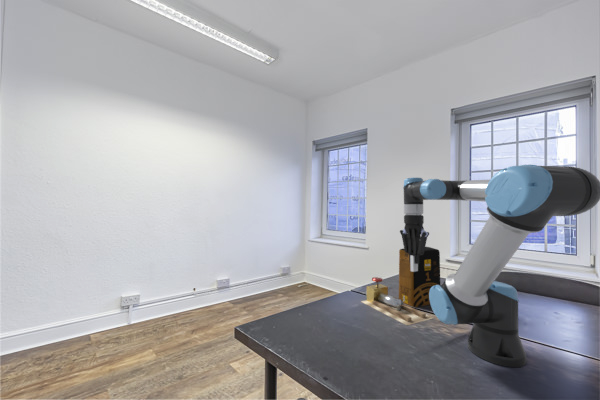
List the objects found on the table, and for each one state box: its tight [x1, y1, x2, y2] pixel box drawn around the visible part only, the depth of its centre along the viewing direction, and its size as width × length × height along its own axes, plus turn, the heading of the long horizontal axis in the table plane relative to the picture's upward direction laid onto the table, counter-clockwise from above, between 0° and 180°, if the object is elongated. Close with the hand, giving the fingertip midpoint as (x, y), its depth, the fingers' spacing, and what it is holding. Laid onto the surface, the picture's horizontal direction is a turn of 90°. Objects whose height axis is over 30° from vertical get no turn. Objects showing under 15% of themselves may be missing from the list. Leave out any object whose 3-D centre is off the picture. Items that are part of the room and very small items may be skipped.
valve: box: [365, 276, 389, 303], centre depth 126 cm, size 8×9×11 cm
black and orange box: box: [398, 246, 441, 308], centre depth 125 cm, size 11×19×28 cm, turn 112°
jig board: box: [360, 299, 435, 326], centre depth 115 cm, size 28×16×3 cm, turn 26°
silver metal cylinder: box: [378, 293, 404, 311], centre depth 117 cm, size 10×5×5 cm, turn 31°
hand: (414, 271), depth 106 cm, fingers closed
